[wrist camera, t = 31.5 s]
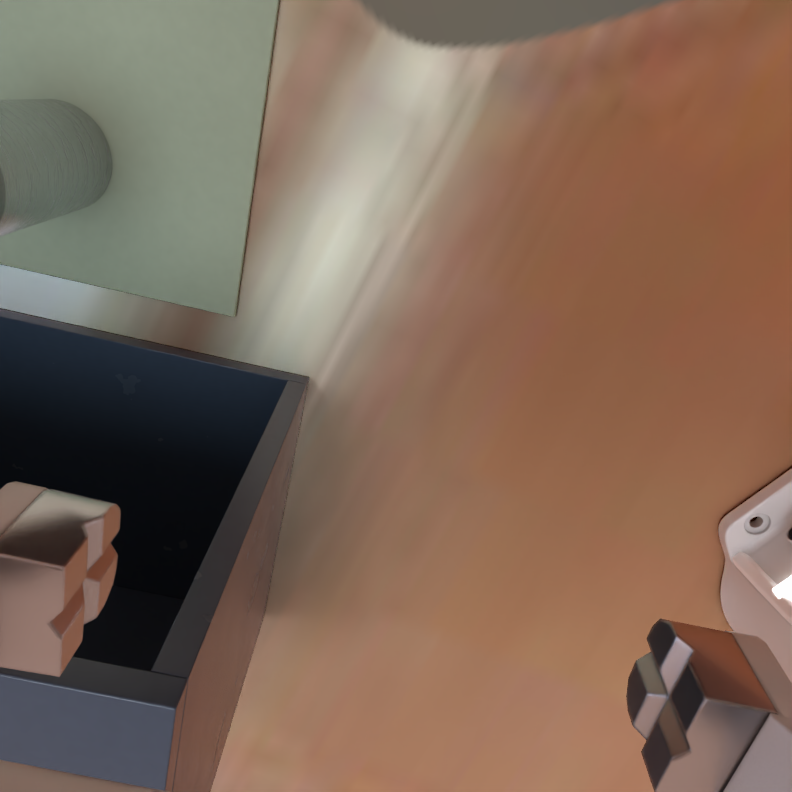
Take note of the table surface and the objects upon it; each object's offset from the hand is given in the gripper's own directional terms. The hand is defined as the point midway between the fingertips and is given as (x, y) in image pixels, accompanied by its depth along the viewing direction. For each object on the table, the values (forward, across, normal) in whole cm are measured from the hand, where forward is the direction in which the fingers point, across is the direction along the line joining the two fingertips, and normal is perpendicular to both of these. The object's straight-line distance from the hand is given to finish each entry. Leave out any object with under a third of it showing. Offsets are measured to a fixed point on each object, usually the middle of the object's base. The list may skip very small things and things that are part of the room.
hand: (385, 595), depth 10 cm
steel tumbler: (+33, +20, +1) cm, 39 cm away
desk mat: (+33, +20, -1) cm, 39 cm away
